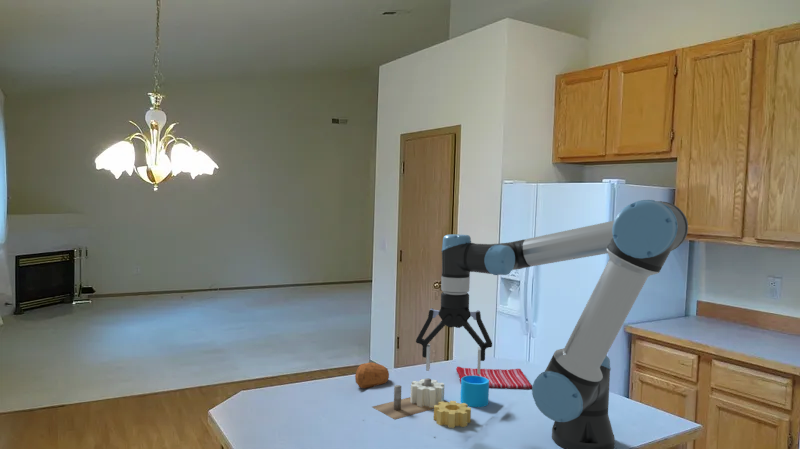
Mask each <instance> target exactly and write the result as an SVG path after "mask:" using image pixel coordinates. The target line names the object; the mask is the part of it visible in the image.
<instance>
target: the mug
mask: <svg viewBox="0 0 800 449" xmlns="http://www.w3.org/2000/svg"><path fill="white" fill-rule="evenodd" d="M489 393H490V388H489V380H488V379H487V378H485V377H481V376H464V377H462V378H461V384H460V404H461V403H465V404H468V407H469V408H484V407H486V406H488V405H489V395H490V394H489Z"/></svg>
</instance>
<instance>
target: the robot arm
mask: <svg viewBox="0 0 800 449" xmlns="http://www.w3.org/2000/svg"><path fill="white" fill-rule="evenodd" d="M614 218H615V219H614V220H611V221H605V222H601V223H596V224H591V225H586V226H583V227H582V226H581V227H578V228H572V229H567V230H563V231H562V230H561V231H558V232H554V233H549V234H544V235H539V236H533V237H530V238H526V239H520V240H515V241H510V242H500V243H474V242H472V239H471V236H470V235H468V234H454V233H453V234H451V233H450V234H446V235H444V236H443V238H442V246H441V278H440V280H441V281H440V290H441V291H442V292H441V294H440V309H439V310H438V309H434V308H429V310H428V315H427V318H426V320H425V322H424V325H423V326H422V327H421V329H420V332H419V334H418V335H417V337H416V340H415V343H416V344H419V345H421V347H422V349H421V350H422V354H421V355H422V358H426V360H425V361H426V362H425V363H426V364H425V366H426V367H425V370H426V372H429V371H430V368H431V344H429V343H431V341H432V340H433V339H434V337H436V335H438V334H439V332H440V331H441V330H443V328H444V327H445V326H446V327H448V328H456V329H457V328H459V329H460V328H464V329H465V330H466V331H467V333H468V334H469V335H470V336H471V338H472V339H473V340H474V341H475V343H476V344H477V345H478V347H477V368H476V369H477V374H480V369H481V363H482V362H485V360H486V350H487V349H488V348H492V347H493V342H492V339H491V337H490V335H489V332H488V331H487V329H486V327H485V325H484V323H483V320H482V315H481V311H480V310H476V311H470V294H469V292H470V282H471V281H470V279H471V276H470V275H471V273H479V274H481V273H482V274H487V275H493V276H498V275H500V276H508V275H509V274H511V272H512V271H514V270H521V269H522V270H523V269H525V268H530V267H535V266H537V267H538V266H542V265H547V264H548V265H549V264H554V263H559V262H566V261H570V260H571V261H573V260H577V259H582V258H583V259H584V258H589V257H594V256H595V257H596V256H600V255H607V254H608V257H609V259H608V261H607V263H606V264H605V266H604V269H603V270H602V273H601V274H600V276H599V279H598V281H597V283H596V284H595V286H594V289H593V291H592V292H591V295H590V297H589V299H588V301H587V302H586V305H585V307H584V308H583V310H582V312H581V314H580V316H579V318H578V321H577V322H576V324H575V327H574V328H573V331H572V332H571V334H570V337H569V339H567V342H566V345H565V346H564V348H559V349H556V350H555V351H554V353H553V354H552V357H551V358H550V361H549V362H548V365H547V366H546V369H545V370H544V371H542V372H541V373H540V374H538V375H537V376H536V378H535V379H534V382H533V383H532V388H531V392H532V393H531V394H532V395H531V396H532V398H533V401H534V403H535V405H536V407H537V409H538V410H539V411H540V413H542V414H543V416H545V417H547V418H548V419H550V420H552V421H554V422H553V425H552V427H551V428H552V429H551V440H552V441H553V442H554V443H555V444H557V445H558V446H560V447H561V448H563V449H615V440H616V439H615V434H614V431H613V428H612V422H611V420H610V417H609V416H610V415H609V403H610V402H609V401H610V380H611V379H610V378H611V370H612V368H611V359H610V357H609V356H608V355H607V354H608V353H609V351H610V349H611V347H612V345H613V344H614V342H615V340H616V338H617V337H618V334H619V332H620V330H621V328H622V326H623V325H624V323H625V322H626V319H627V317H628V315H629V314H630V311H631V310H632V308H633V306H634V305H635V302H636V300H637V299H638V296H639V295H640V293H641V291H642V289H643V287H644V285H645V283H646V281H647V279H648V278H649V277H650V276H653V275H657V274H660V273H661V270H662V268H663V266H664V264H665V263H666V261H667V259H668V257H669V256H670V253H671V252H672V251H674V250H677V249H678V248H679V247H680V246H681V245H682V244H683V243H684V242H685V240H686V238H687V235H688V233H689V223H688V218H687V217H686V215H685V213H684V212H683V210H682V209H680V208H679V207H678V206H677V205H675V204H673V203H671V202H667V201H661V200H660V201H656V200H653V199H643V200H638V201H633V202H631V203H630V204H628V205H626V206H625V207H623V208H622V209H621V210H620V211H618V213H617V214H616V216H615V217H614ZM437 316H439V318H440V319H441V321H440V322H439V323H438V324H437V325H436V326H435V328H433V330H432V331H431V332H429V333H428V335H427V336H426V337H425V338H423V337H424V336H425V334H426V332H427V330H428V328H429V326H430V324H432V321H433V319H435V318H436V317H437ZM470 318H472V319H473V320H474V321H476V323H477V326H478V328H479V330H480V332H481V334H482V336H483V338H484V341H483V339H482V338H481V337H480V336H479V335H478V333H477V332H476V331H475V329H474V328H473V327H472V326H471V324H470V322H468V320H469V319H470Z"/></svg>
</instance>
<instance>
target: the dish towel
mask: <svg viewBox="0 0 800 449" xmlns="http://www.w3.org/2000/svg"><path fill="white" fill-rule="evenodd" d="M455 370H456V373H457V374H458V378H460V379H459V383H460V385H461V378H462V377H464V376H481V377H485V378H487V379H488V380H489V389H505V388H507V389H508V390H509V389H510V390H513V389H514V390H532V387H533V384H531V383H530V381H529V380H528V378H527V376H526V375H525V374H524V372H523V371H522V369H521V368H510V369H499V368H498V369H496V368H495V369H493V368H480V374H477V368H471V367H461V366H456V368H455ZM507 389H506V390H507Z"/></svg>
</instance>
